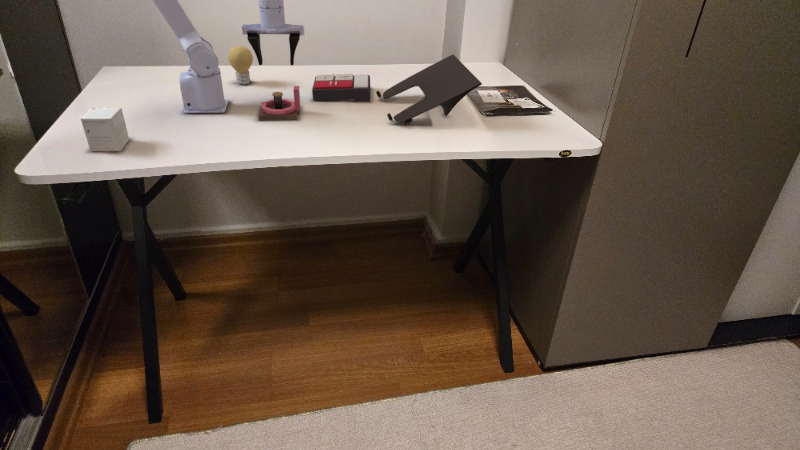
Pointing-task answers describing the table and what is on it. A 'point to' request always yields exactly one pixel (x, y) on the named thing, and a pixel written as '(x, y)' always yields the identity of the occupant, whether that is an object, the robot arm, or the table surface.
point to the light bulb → (241, 63)
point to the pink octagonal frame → (294, 104)
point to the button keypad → (342, 87)
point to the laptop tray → (434, 88)
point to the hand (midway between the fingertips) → (276, 64)
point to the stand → (278, 105)
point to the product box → (105, 129)
